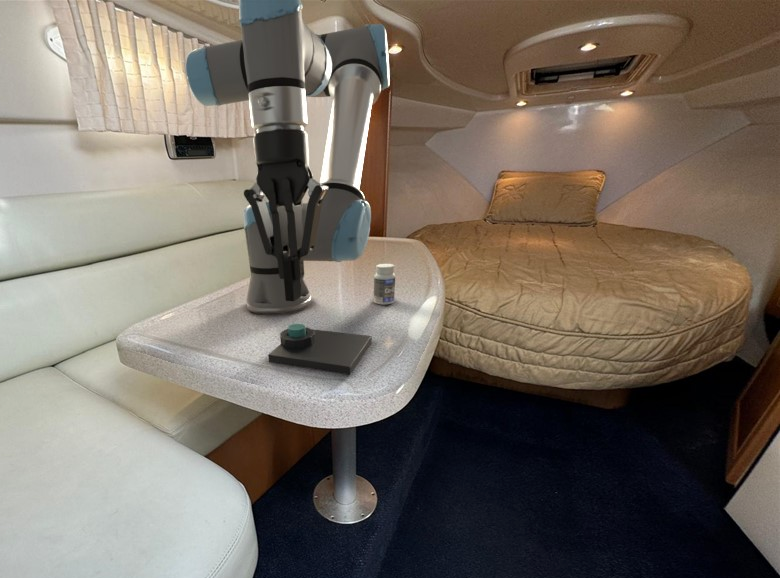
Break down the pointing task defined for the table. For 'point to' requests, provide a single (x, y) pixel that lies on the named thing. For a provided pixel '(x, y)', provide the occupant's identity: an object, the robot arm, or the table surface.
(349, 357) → the dark grey base board
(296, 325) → the power button
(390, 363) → the table surface
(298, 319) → the table surface
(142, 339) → the table surface
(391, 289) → the pill bottle
